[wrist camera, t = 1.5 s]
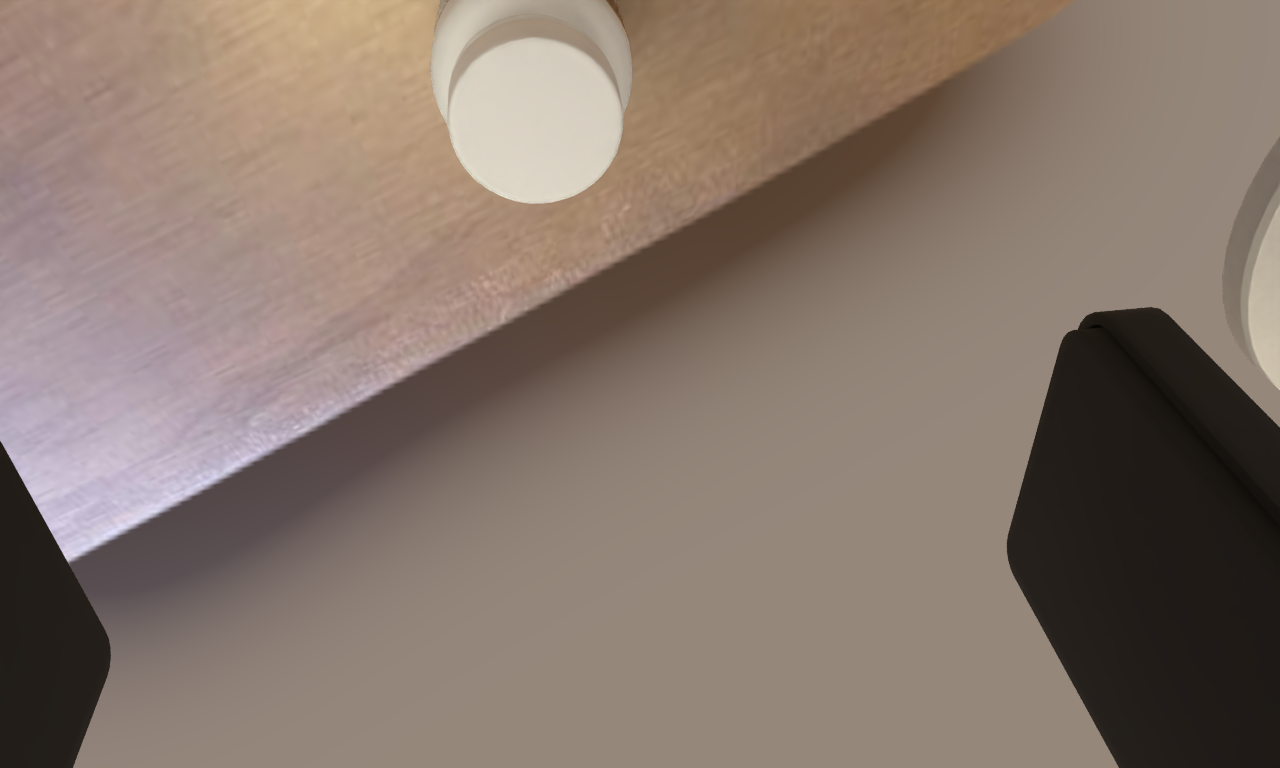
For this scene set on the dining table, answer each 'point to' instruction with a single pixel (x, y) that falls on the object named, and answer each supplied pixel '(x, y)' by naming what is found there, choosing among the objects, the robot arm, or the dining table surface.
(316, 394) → the dining table surface
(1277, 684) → the robot arm
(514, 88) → the pill bottle
